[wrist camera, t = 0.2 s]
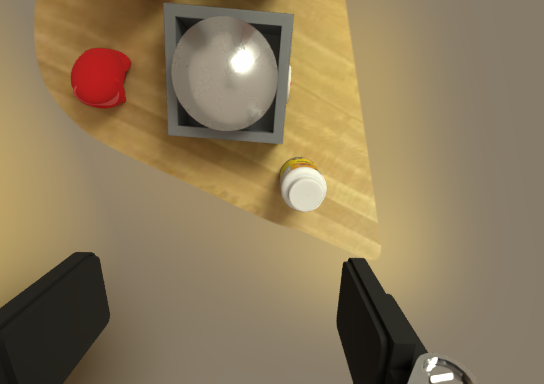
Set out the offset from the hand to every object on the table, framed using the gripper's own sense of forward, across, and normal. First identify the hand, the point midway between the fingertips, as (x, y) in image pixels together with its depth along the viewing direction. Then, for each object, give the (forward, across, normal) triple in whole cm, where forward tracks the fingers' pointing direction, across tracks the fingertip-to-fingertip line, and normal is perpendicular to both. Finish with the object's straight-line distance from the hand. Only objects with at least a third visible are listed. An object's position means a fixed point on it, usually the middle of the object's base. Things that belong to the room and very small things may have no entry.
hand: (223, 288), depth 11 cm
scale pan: (+28, +4, -10) cm, 30 cm away
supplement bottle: (+31, -6, +3) cm, 32 cm away
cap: (+31, +20, -9) cm, 38 cm away
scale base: (+31, +4, -10) cm, 32 cm away
